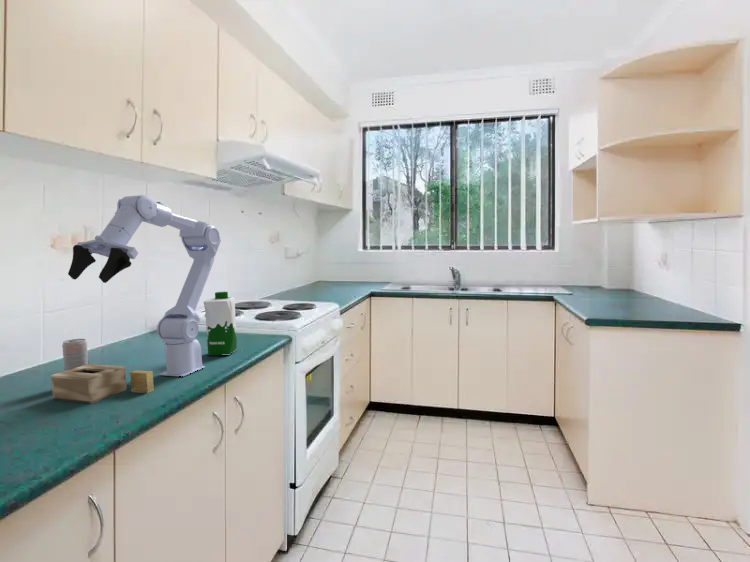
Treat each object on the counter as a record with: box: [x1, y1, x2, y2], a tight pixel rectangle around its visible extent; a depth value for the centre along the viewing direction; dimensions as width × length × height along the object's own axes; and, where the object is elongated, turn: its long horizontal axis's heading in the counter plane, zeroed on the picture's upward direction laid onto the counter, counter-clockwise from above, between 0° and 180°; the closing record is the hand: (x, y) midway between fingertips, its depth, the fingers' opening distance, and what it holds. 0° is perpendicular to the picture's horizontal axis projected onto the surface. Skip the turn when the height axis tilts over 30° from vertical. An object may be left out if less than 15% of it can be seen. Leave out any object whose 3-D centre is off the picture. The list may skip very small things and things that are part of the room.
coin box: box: [50, 363, 128, 404], centre depth 113 cm, size 10×12×6 cm
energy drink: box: [61, 338, 90, 371], centre depth 121 cm, size 5×5×12 cm
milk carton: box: [203, 291, 238, 356], centre depth 151 cm, size 9×9×20 cm
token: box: [129, 369, 155, 394], centre depth 115 cm, size 2×5×5 cm, turn 73°
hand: (86, 278), depth 102 cm, fingers open, 7 cm apart
